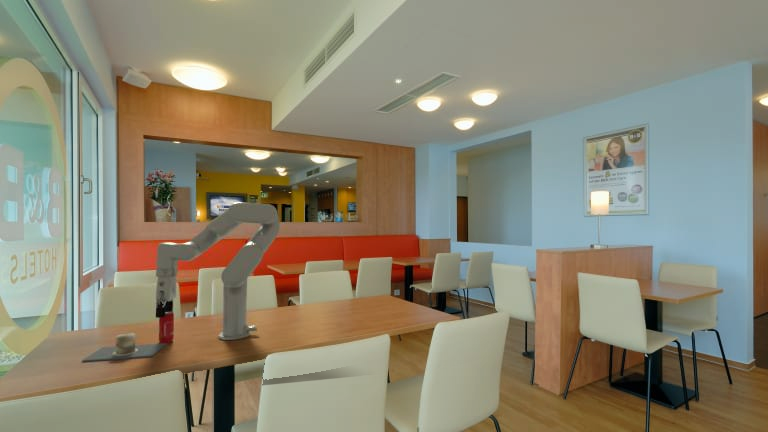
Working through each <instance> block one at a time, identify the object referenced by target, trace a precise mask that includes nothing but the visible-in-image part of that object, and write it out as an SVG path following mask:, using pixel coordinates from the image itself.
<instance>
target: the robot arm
mask: <svg viewBox="0 0 768 432" xmlns="http://www.w3.org/2000/svg"><path fill="white" fill-rule="evenodd" d="M243 223H244V224H245V223H246V224H260V225H259V227H258V229H257V230H256V231H255V233H253V236H252V237H251V238H250V239H249V240H248V241H247V243H246V244H244V245H243V246H242V247H241V248H240V249H239V251H237V252H236V255H235V256H234V257H233V258H232V260H230V262H229V263H228V265H226V267H225V268H224V269H223V270H222V272H221V281H222V284H223V287H222V288H223V292H222V293H223V294H222V331H221V332H220V333H219V334H218V338H219V339H220V340H224V341H236V340H242V339H245V338H247V337H249V336H250V335H251V332H258V326H257V325H256V326H255V325H248V322H247V307H248V306H247V300H248V299H247V298H248V291H247V290H248V278H249V277H250V276H251V274H252V273H254V270H255V269H256V268H257V267H258V265H259V264H260V263H261V261H262V259H263V255H264V254H265V253H266V252H267V250H268V249H269V248H270V247H271V245H272V244H273V242H274V241H275V239H276V238H277V236H278V234H279V230H280V228H281V226H280V225H281V224H280V223H281V222H280V217H279V215H278V209H276V207H275V206H274V205H272V204H269V203H255V202H243V201H242V202H241V201H237V202H233V203H232V204H231V205H230V206H229V207H228V208H227V209H226V210H225V211H223V212H222V213H221V214H219V215H218V216H216V217H215V218H214V219H213V220H211V221H210V222H209V223H208V224H207V225H206V226H205V228H204V229H203V230H202V231H201V232H199V233H198V234H197V235H195V236H194V237H193V238H192V239H190V240H189V241H187V242H185V243H176V242H159V244H157V248H156V250H157V251H156V268H155V277H156V278H157V281H156V290H155V304H156V305H155V318H158V319H159V318H161V317H165V312H166V311H173V312H174V299H176V297H177V279H176V278H177V277H178V262H179V261H182V262H191V261H193V260H194V259H197V257H199V256H200V255H202V254H203V253H204V252H206V251H207V250H209V249H210V248H211V247H212V246H214V245H215V244H216V243H218V242H219V241H221V240H223V239H224V238H225V237H226V236H228V235H229V234H230V233H231V232H233V231H234V230H235V229H237V228H238V227H239V226H241V225H242V224H243Z"/></svg>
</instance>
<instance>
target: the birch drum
mask: <svg viewBox="0 0 768 432" xmlns="http://www.w3.org/2000/svg"><path fill="white" fill-rule="evenodd" d="M135 345H136V333H134V332H128V333H121V334H118V335H116V336H115V347H116V354H117V355H123V354H129V353H132V352H134V351H135Z"/></svg>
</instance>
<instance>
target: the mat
mask: <svg viewBox="0 0 768 432" xmlns="http://www.w3.org/2000/svg"><path fill="white" fill-rule="evenodd" d="M166 344H167V343H162V344H161V343H151V344H150V343H149V344H135V351H134V352H132V353H129V354H123V355H117V354H116V346H105V347H101V348H99V349H98V350H96V351H94V352H93V353H91V354H90V355H88V356H86V357H85V358H84V359H82V360H81V363H88V362H89V363H90V362H91V363H92V362H102V361H104V362H105V361H116V360H127V359H128V360H129V359H130V360H131V359H142V358H153V357H154V356H155V355H156V354H157V353H159V351H161V350H162V349H163V347H165V346H166Z"/></svg>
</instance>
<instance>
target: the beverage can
mask: <svg viewBox="0 0 768 432" xmlns="http://www.w3.org/2000/svg"><path fill="white" fill-rule="evenodd" d="M158 320H159V321H158V341H159V344H162V343H166V344H169V343H172V342H173V340H174V330H175V329H174V324H175V323H174V322H175V313H174V310H173V311H166V312H165V317H161V318H158Z"/></svg>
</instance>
